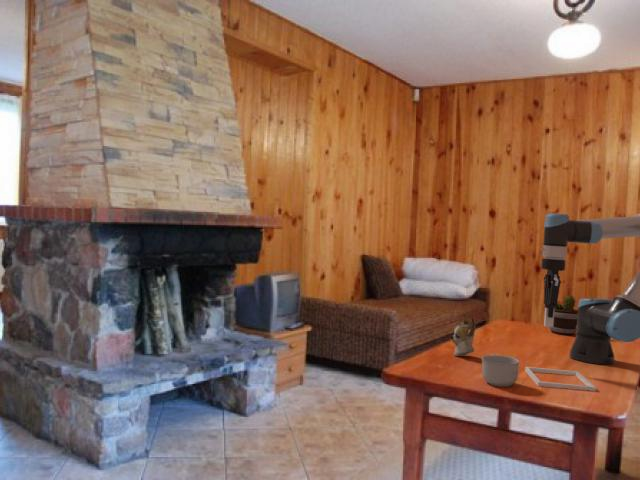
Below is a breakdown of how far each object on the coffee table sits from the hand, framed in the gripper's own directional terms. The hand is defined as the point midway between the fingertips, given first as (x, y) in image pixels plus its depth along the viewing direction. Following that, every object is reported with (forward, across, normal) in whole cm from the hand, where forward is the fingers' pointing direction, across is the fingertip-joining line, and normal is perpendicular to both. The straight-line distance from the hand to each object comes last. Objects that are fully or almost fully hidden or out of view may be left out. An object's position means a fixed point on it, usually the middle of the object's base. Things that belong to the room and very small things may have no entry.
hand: (548, 326), depth 194 cm
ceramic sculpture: (+15, -7, -28) cm, 32 cm away
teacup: (+15, +25, -20) cm, 35 cm away
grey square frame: (+15, +16, 0) cm, 22 cm away
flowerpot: (+15, -75, +25) cm, 81 cm away
